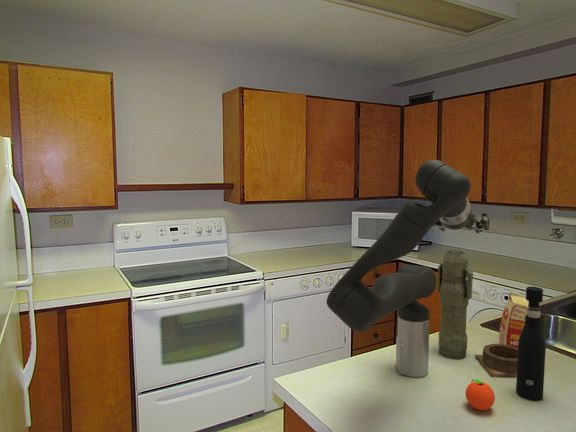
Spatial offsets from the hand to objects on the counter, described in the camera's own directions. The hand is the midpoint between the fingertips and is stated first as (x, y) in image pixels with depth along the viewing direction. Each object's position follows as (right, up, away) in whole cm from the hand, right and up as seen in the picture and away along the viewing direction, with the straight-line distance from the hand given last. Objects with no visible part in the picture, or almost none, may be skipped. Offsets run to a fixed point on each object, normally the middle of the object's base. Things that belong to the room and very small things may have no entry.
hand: (460, 228), depth 109 cm
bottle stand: (+22, -44, +20) cm, 53 cm away
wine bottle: (+21, -46, +4) cm, 51 cm away
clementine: (+4, -47, -2) cm, 47 cm away
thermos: (+10, -44, +30) cm, 54 cm away
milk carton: (+33, -43, +34) cm, 64 cm away
